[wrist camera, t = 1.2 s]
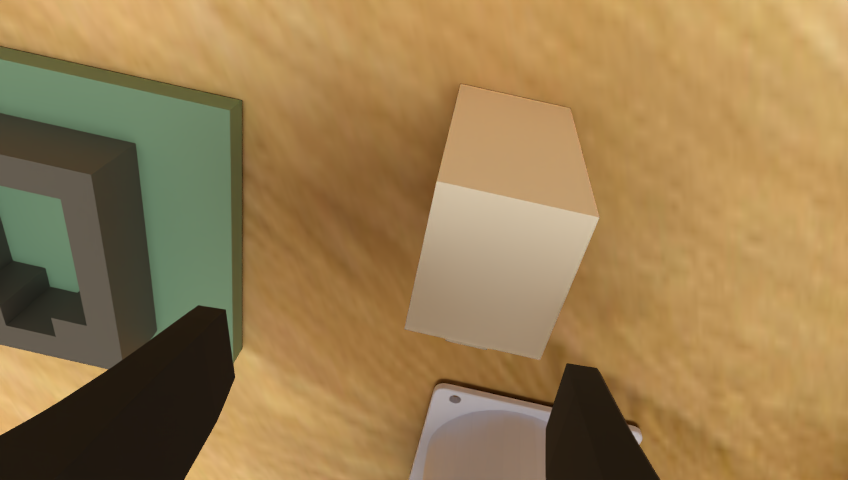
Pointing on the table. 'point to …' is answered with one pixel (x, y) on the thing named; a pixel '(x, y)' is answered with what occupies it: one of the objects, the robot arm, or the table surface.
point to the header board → (113, 208)
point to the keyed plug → (503, 225)
